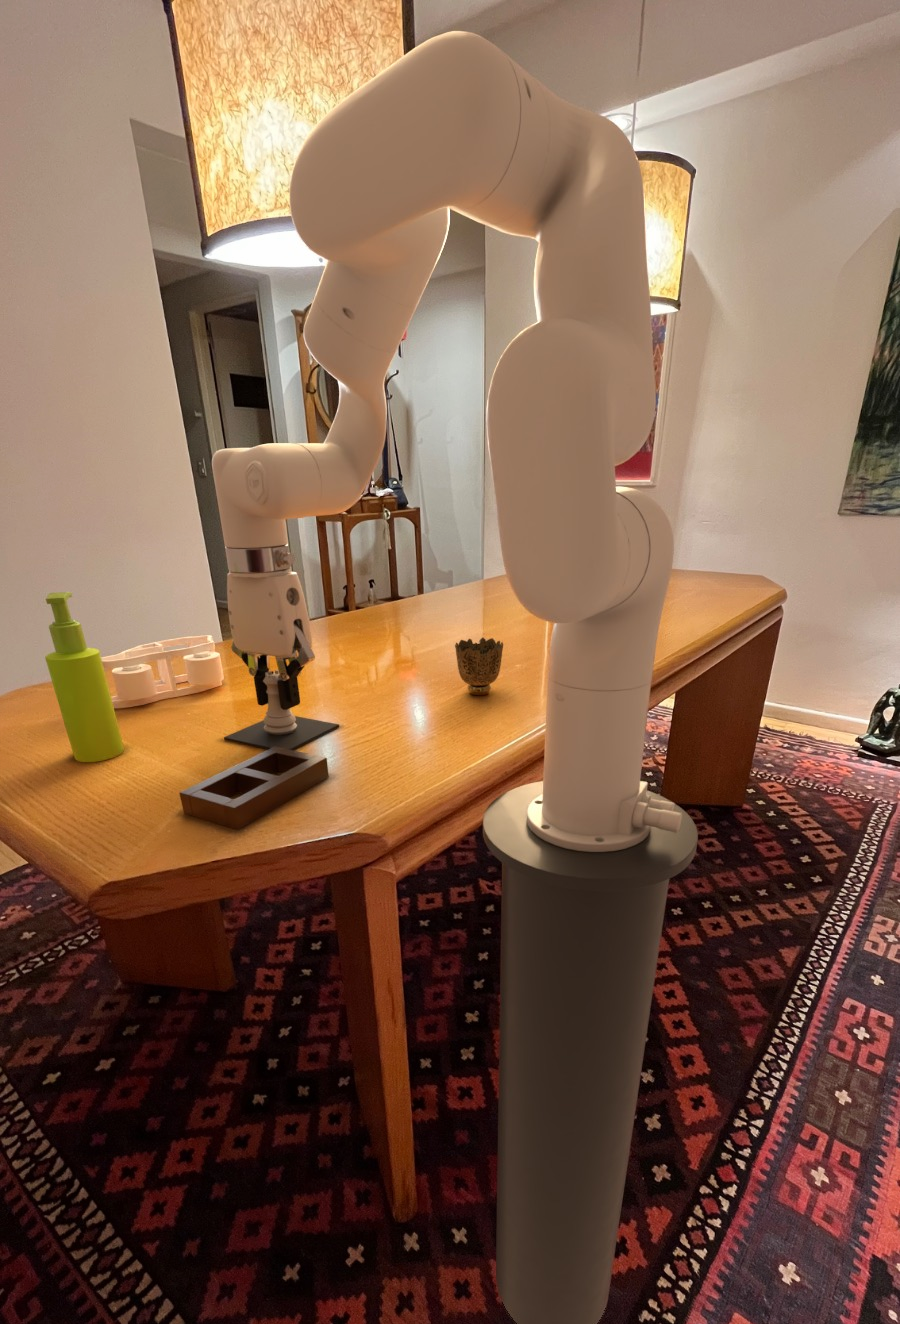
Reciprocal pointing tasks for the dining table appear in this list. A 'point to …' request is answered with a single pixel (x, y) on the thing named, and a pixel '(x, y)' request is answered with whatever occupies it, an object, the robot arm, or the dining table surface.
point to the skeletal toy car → (163, 671)
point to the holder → (254, 787)
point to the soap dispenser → (81, 688)
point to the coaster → (291, 741)
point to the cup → (479, 663)
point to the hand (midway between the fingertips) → (279, 703)
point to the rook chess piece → (277, 709)
